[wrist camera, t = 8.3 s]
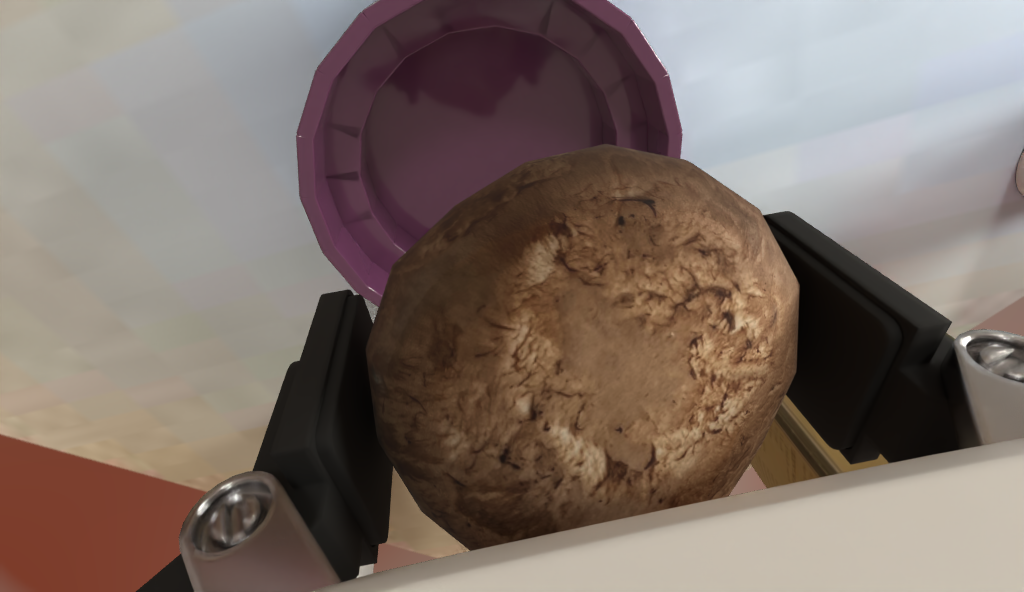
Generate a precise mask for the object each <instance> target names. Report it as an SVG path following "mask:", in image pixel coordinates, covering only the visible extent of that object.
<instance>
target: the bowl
mask: <svg viewBox="0 0 1024 592" xmlns="http://www.w3.org/2000/svg"><path fill="white" fill-rule="evenodd" d="M296 143H297V161H298V178H299V196H300V197H301V198H300V199H301V202H302V204H303V207H304V209H305V212H306V214H307V216H308V219H309V221H310V224H311V226H312V228H313V231H314V233H315V236H316V238H317V241H318V243H319V245H320V248H321V250H322V252H323V254H324V255H325V256H326V257H327V258H328V260H329V261H330V262H331V263H332V264H333V265H334V267H335V268H336V269H337V270H338V271H339V272H340V274H341V275H342V276H343V277H344V278H345V280H346V281H347V282H348V283H349V284H350V285H351V287H352V288H353V289H354V290H355V291H356V292H357V293H358V294H359V295H362V296H363V297H364V298H366V299H367V300H369V301H370V302H372V303H373V304H375V305H376V306H378V307H379V305H380V302H381V299H382V296H383V293H384V290H385V287H386V284H387V280H388V277H389V274H390V271H391V268H392V265H393V264H394V263H395V262H396V261H397V260H398V259H399V258H400V257H401V256H403V255H404V254H405V253H406V252H407V251H408V250H409V249H410V248H411V247H412V246H413V245H414V244H415V243H416V242H417V241H418V240H419V239H420V238H421V237H423V236H424V235H425V234H426V233H427V232H428V231H429V230H430V229H431V228H432V227H433V226H434V225H435V224H436V223H437V222H438V221H439V220H440V219H441V218H443V217H444V216H445V215H446V214H447V213H448V212H449V211H450V210H451V209H452V208H453V207H454V206H455V205H457V204H458V203H460V202H462V201H463V200H465V199H466V198H468V197H470V196H471V195H473V194H475V193H476V192H478V191H479V190H481V189H483V188H484V187H486V186H488V185H489V184H491V183H492V182H494V181H496V180H497V179H499V178H500V177H502V176H504V175H505V174H507V173H509V172H510V171H512V170H513V169H515V168H517V167H518V166H520V165H522V164H523V163H525V162H528V161H532V160H537V159H541V158H545V157H550V156H554V155H559V154H563V153H567V152H572V151H576V150H581V149H585V148H589V147H594V146H598V145H603V144H609V145H614V146H619V147H624V148H629V149H634V150H639V151H644V152H649V153H654V154H659V155H664V156H668V157H673V158H678V159H680V155H681V144H682V128H681V123H680V119H679V115H678V111H677V107H676V102H675V98H674V94H673V90H672V85H671V81H670V77H669V74H668V71H667V70H666V68H665V67H664V65H663V64H662V62H661V61H660V59H659V58H658V56H657V55H656V53H655V51H654V50H653V48H652V47H651V45H650V44H649V42H648V41H647V39H646V38H645V36H644V35H643V33H642V32H641V30H640V29H639V27H638V26H637V24H636V23H635V21H634V20H633V19H632V18H631V17H630V16H629V15H627V14H626V13H624V12H623V11H622V10H620V9H619V8H617V7H616V6H615V5H613V4H612V3H610V2H609V1H607V0H376V1H375V2H373V3H372V4H371V5H369V6H368V7H367V8H365V9H364V10H363V11H362V12H360V13H359V15H358V16H357V17H356V18H355V20H354V21H353V22H352V24H351V25H350V26H349V27H348V29H347V30H346V31H345V32H344V34H343V35H342V36H341V38H340V39H339V40H338V41H337V43H336V44H335V45H334V47H333V48H332V49H331V50H330V52H329V53H328V54H327V56H326V57H325V58H324V59H323V61H322V62H321V63H320V64H319V66H318V67H317V70H316V71H315V74H314V77H313V80H312V84H311V87H310V90H309V94H308V97H307V100H306V103H305V107H304V110H303V113H302V116H301V120H300V123H299V126H298V130H297V135H296Z"/></svg>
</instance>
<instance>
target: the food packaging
mask: <svg viewBox="0 0 1024 592" xmlns="http://www.w3.org/2000/svg"><path fill="white" fill-rule="evenodd" d="M946 335H947V336H948V337H950V338H951V339H953V340H955V339H954V338H953V337H951V336H950V335H948V334H947V333H946ZM884 464H888V461H887V460H886V459H885V458H884V457H883V456H882V455H881V454H880V455H879V457H878V459H876V460H872V461H867V462H862V463H857V464H852V465H851V464H850V463H849V462H848V461H847V460H846V459H845V457H844V456H843V455H842V454H841V453H840V451H839V450H835V449H832V448H831V447H829V446H828V445H827V444H826V443H825V441H824V440H823V439H822V438H821V437H820V435H819V434H818V433H817V432H816V431H815V429H814V428H813V427H812V426H811V425H810V423H809V422H808V421H807V420H806V419H805V417H804V416H803V415H802V414H801V412H800V411H799V410H798V409H797V408H796V406H795V405H794V404H793V403H792V402H791V400H790V399H789V398H788V397H787V396H786V395H785V397H784V399H783V401H782V403H781V405H780V407H779V410H778V412H777V414H776V416H775V418H774V420H773V422H772V424H771V426H770V428H769V431H768V433H767V435H766V437H765V439H764V441H763V443H762V445H761V447H760V449H759V450H758V452H757V453H756V455H755V456H754V458H753V459H752V461H751V465H752V466H753V468H754V469H755V471H756V472H757V474H758V475H759V477H760V478H761V480H762V481H763V483H764V484H765V486H766V487H767V488H771V487H776V486H781V485H786V484H791V483H796V482H800V481H805V480H810V479H815V478H820V477H825V476H830V475H835V474H840V473H845V472H850V471H855V470H860V469H865V468H870V467H875V466H879V465H884Z"/></svg>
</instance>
